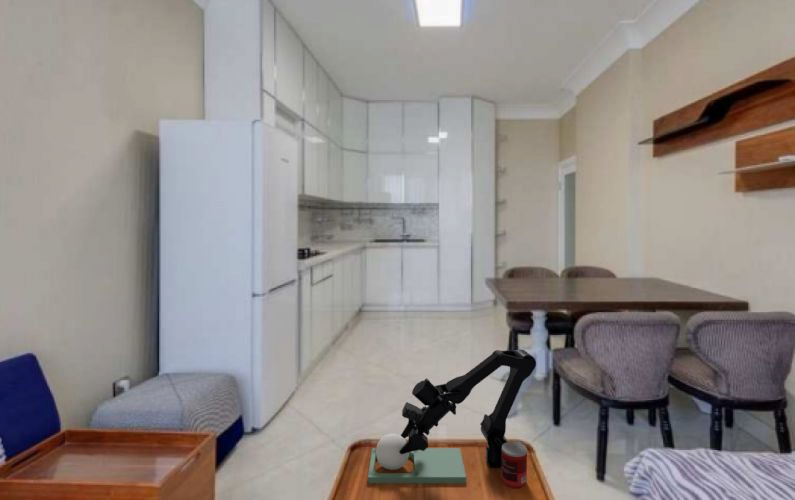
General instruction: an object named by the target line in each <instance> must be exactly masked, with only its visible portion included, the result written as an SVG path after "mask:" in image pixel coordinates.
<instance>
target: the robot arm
mask: <svg viewBox="0 0 795 500" xmlns="http://www.w3.org/2000/svg"><path fill="white" fill-rule="evenodd" d="M502 366H503V367H508V368H509V374H508V377H507V379H506V381H505V384H504V385H503V388H502V390H501V393H500V396H499V397H498V399H497V403H496V404H495V406H494V409H493V411H492V412H491V413H490V414H489V415H488V414H486V413H485V414H484V416H483V419H482V421H481V422H480V423H479V424H480V432H481V434H482V435H483V437H484V438H485V440H486V442H487V446H486V447H485V460H486V463H487V464H488V467H489V468H501V465H502V445H503V444H504V443H506V442H509V441H508V439H507V438H506V436H505V435H506V431H507V430H506V429H507V427H506V426H507V419H508V417H509V414H510V413H511V409H512V408H513V405H514V403H515V400H516V398H517V396H518V395H519V392H520V389H521V387H522V385H523V382H524V381H525V380H526V379H527V378H530V377H531V375H532V374H533V372H534V370H535V368H536V366H537V362H536V358H535V357H534V356H532V354H530V353H528V351H526V350H524V349H517V350H510V349H509V350H508V349H507V350H500V349H497V350H494V351H493V352H492V353H491V354H490V355H489V356H487V357H486V358H485V359H483V360H482V361H481V362H480V363H478V364H477V365H476V366H475V367H473V368H472V369H471V370H469V371H468V372H466V373H465V374H463V375H460V376H456V377H454V378H452V379H451V380H449V381H447V382H445V383H442V384H438V385H434V384H433V383H432V382H431V381H430V380H429V379H428V378H425V379H424V380H421V381H419V382H417V383H416V384H415V385H414V387H413V388H412V391H411V394H412V396H414V397H415V398H416V399H417V400H418V401H419V402H420V403H421V404H423V405H424V406H423V407H422V408H421V407H418V406H416V405H414V404H412V403H409V402H405V404H404V405H403V408H402V411H401V416H402V417H403V418H404V419H408V421H407V424H406V426H405V428H404V429H403V431H402V432H401V433H400V436H402V437H403V438H404V439H406V438H407V439H408V440H406V443H405V444H404V446H403V447H402V448H401V450H400V451H399V453H400V454H405V453H408V452H412V451H417V450H422V451H425V450H426V449H427V448H429V439H428V437H427V436H429V434H430V430H432V429H433V427H436V428H437V427H438V426H439V422H440V421H441V420H442V419H443V418H444V417H445V416H446V415H447V414H448V413H449V412H450V413H452V414H453V415H454V416H455V415H457V405H460V404H461V403H463V402H464V401H465V400H466V399H467V398H468V397H469V396H470V394H471V393H472V390H473V389H474V388H475V387H476V386H477V385H478V384H480V383H481V382H482V381H484V380H485V379H486V378H488V377H489V376H490V375H492V374H493V373H494V372H495V371H497V370H498V369H499V368H501V367H502Z"/></svg>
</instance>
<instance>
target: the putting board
mask: <svg viewBox="0 0 795 500" xmlns="http://www.w3.org/2000/svg"><path fill="white" fill-rule="evenodd" d="M376 448H377V447H376ZM376 448H371V451H370V461H369V467H368V468H369V469H368V473H367V483H368V484H467V475H466V470H465V466H464V461H463V457H462V456H463V455H462V453H461V448H460V447H459V448H458V447H439V448H438V447H436V448H435V447H431V448H429V447H428V448H427V449H426V450H425V451H422V450H417V451H412V452H409V457H408V458H410V459H412V460H413V468H414V469H413V470H412V471H410V472H409V473H407V472H405V473H404V472H403V473H400V472H395V473H388V472H387V473H385V472H384V473H383V472H382V473H379V472H377V471H376V469H375V468H376V463H377V460H378V459H377V456H376Z"/></svg>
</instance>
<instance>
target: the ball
mask: <svg viewBox="0 0 795 500" xmlns="http://www.w3.org/2000/svg"><path fill="white" fill-rule="evenodd" d="M406 442H407V440H406V438H403V437H402V436H401V434H398V433H388V434H386V435H384V436H382V437H381V438H380V440H378V443H377V445H376V456H377V459H376V460H377V462H378V464H379V465H380V466H381V467H382V468H384V469H386V470H390V471H397V470H399V469H401V468H403V466H405V465H406V463H408V460H409V458H410V457H409V452H408V453H405V454H400V453H399V451H400V450H401V448H402V447H403V446H404V444H405V443H406Z"/></svg>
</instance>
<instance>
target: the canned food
mask: <svg viewBox="0 0 795 500" xmlns="http://www.w3.org/2000/svg"><path fill="white" fill-rule="evenodd" d="M527 467H528V448H527V447H526V445H524V444H523V443H521V442H517V441H508V442H506V443H504V444H503V445H502V465H501V467H500V468H501V474H500V475H501V481H502V484H504V485H505V486H507V487H508V488H511V489H522V488H523V487H525V486H526V484H527V479H528V477H527V476H528V475H527V474H528V473H527V471H528V470H527Z"/></svg>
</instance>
